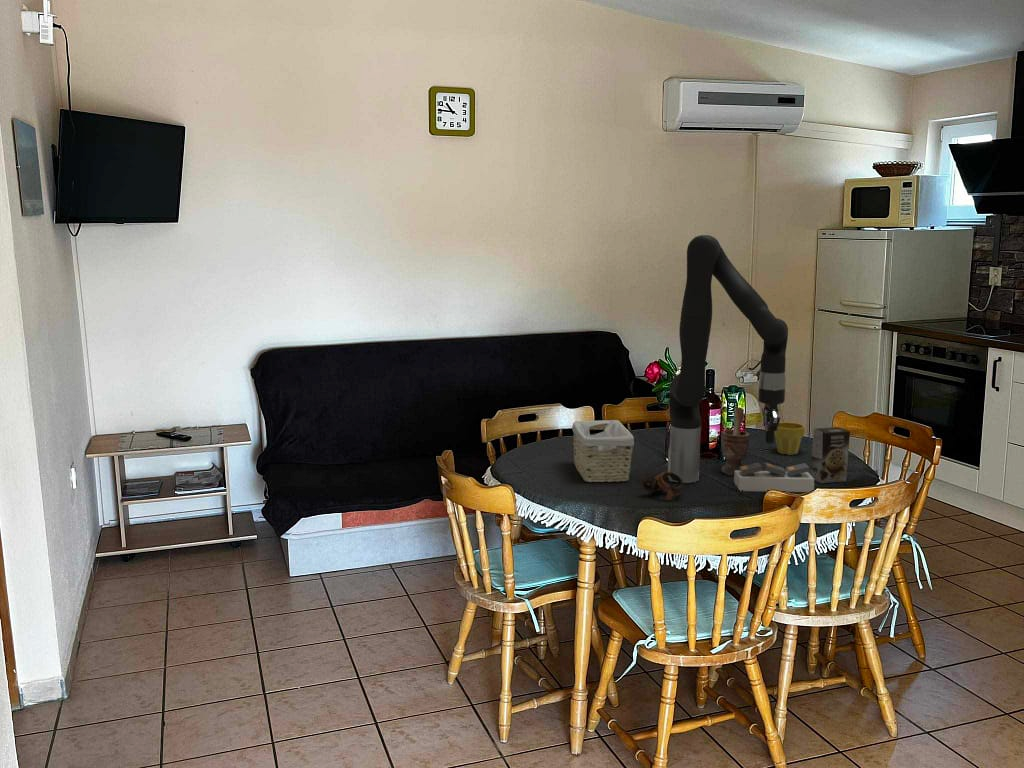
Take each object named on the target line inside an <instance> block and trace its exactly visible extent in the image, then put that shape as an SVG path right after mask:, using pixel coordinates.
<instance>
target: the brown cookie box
mask: <svg viewBox="0 0 1024 768" xmlns="http://www.w3.org/2000/svg"><path fill="white" fill-rule="evenodd" d="M812 436H813V437H812V448H811V460H810V472H809V474H810V475H811V476H812V477H813V478H814V481H816V482H818V483H819V484H829V483H839V482H841V483H842V482H846V481H847V475H848V474H847V471H848V461H849V449H850V447H849V446H850V438H851V437H850V436H851V431H850V430H847V429H844V428H841V427H839V426H838V427H837V426H836V427H819V428H816V427H815V428H814V429H813V435H812Z"/></svg>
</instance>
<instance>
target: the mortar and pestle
mask: <svg viewBox="0 0 1024 768" xmlns="http://www.w3.org/2000/svg"><path fill="white" fill-rule="evenodd" d="M734 410H735V411H734V423H733V425H734V427H733V429H725V430H724V429H723V430H722V431H721V444H720V446H721V447H720V448H721V453H722V456H723V458H725V460H726V463H725V464H723V465H722V467H721V470H720V471H721V472H722V473H723V474H726V475H727V474H729V475H728V476H734V472H735V470H738V471H740V469H739V467H740V466H743V465H742V461H743V460H744V459H745V458H746V457H747V454H748V450H749V443H750V433H749V432H747V431H745V430H741V429H742V428H741V426H742V422H743V419H744V415H745V410H744V407H743V408H742V407H736V408H735V409H734Z"/></svg>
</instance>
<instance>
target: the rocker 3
mask: <svg viewBox="0 0 1024 768" xmlns="http://www.w3.org/2000/svg"><path fill="white" fill-rule="evenodd" d="M785 471H786V472H787V473H788V474H789V475H790V476H793V475H797V474H801V473H805V472H808V473H810V471H811V468H810V466H809V465H808V464H807V463H805V462H803V463H799V464H794V465H791V466H786V467H785Z"/></svg>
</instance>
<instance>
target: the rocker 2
mask: <svg viewBox="0 0 1024 768" xmlns="http://www.w3.org/2000/svg"><path fill="white" fill-rule="evenodd" d="M761 466H762V469H764V471H768V472H772V473H776V474H779V475H783V476H785V474H786V469H785V468H784V467H782V466H778V465H774V464H772V463H768V462H763V463H762V465H761Z"/></svg>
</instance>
